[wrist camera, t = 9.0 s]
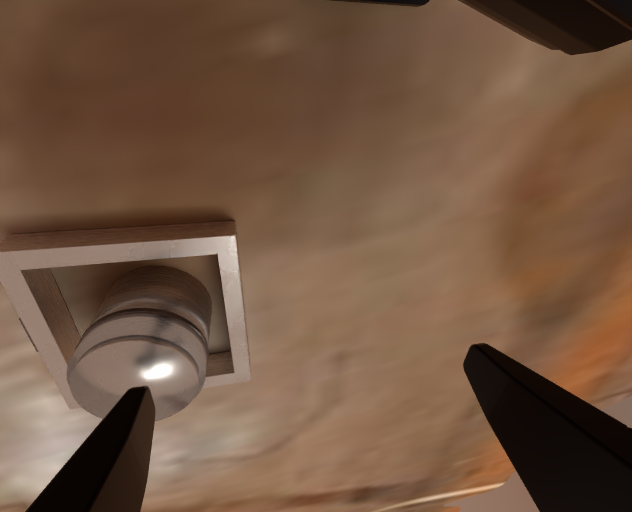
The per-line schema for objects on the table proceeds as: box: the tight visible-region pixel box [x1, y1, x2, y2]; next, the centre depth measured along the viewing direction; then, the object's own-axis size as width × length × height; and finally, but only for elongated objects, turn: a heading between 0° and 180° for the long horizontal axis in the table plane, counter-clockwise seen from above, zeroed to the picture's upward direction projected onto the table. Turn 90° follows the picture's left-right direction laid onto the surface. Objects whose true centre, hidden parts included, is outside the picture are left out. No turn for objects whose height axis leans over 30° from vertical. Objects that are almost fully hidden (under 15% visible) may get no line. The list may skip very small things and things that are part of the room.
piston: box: [66, 266, 212, 421], centre depth 18 cm, size 6×6×6 cm
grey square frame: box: [0, 221, 251, 409], centre depth 19 cm, size 12×11×2 cm
